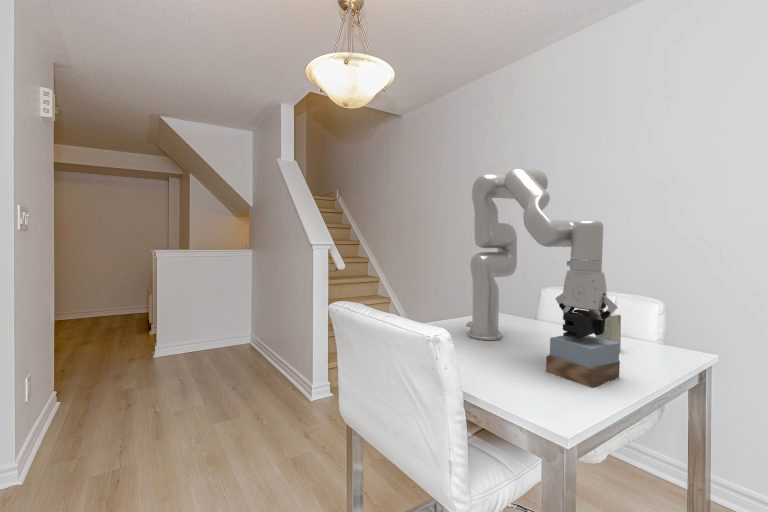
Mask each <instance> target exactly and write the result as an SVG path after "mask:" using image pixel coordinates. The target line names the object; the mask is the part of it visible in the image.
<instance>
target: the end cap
mask: <svg viewBox="0 0 768 512" xmlns="http://www.w3.org/2000/svg"><path fill="white" fill-rule="evenodd" d="M562 320H563V321H565V320H567V321H572V322H573V323H574V325H573V326H570V325H565V323H564V324H562V331H564V332H563V335H564V336H568V337H572V338H583V337H585V336H588V335H589V336H592V335H593V334H594V328H595V320H597V318H596V316H595V314H594V312H593V311H591V310H584V309H579V308H576V309H574V310H573V312H565V313H562ZM563 335H562V336H563Z"/></svg>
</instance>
